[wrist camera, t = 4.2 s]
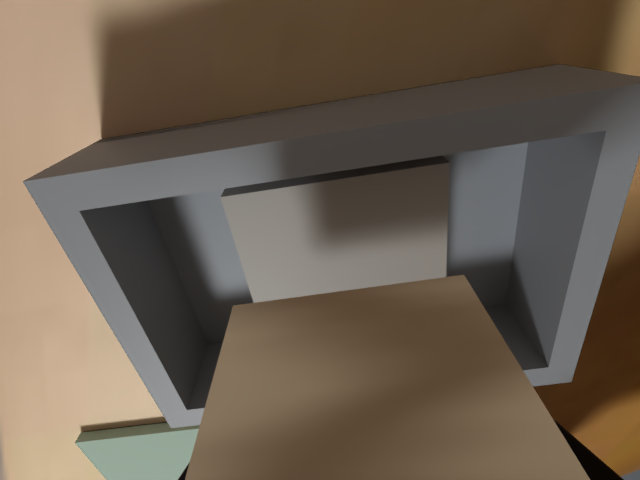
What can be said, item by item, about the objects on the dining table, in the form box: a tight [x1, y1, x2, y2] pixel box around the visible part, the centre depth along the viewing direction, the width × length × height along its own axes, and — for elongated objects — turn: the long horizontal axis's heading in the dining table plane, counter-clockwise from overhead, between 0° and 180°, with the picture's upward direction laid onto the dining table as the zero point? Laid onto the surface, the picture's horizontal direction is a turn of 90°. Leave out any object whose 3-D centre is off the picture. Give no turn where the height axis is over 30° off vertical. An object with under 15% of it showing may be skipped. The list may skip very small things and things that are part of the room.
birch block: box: [185, 275, 590, 480], centre depth 7 cm, size 5×5×5 cm
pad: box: [75, 423, 200, 480], centre depth 23 cm, size 8×8×1 cm
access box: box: [23, 64, 640, 428], centre depth 13 cm, size 16×11×4 cm
